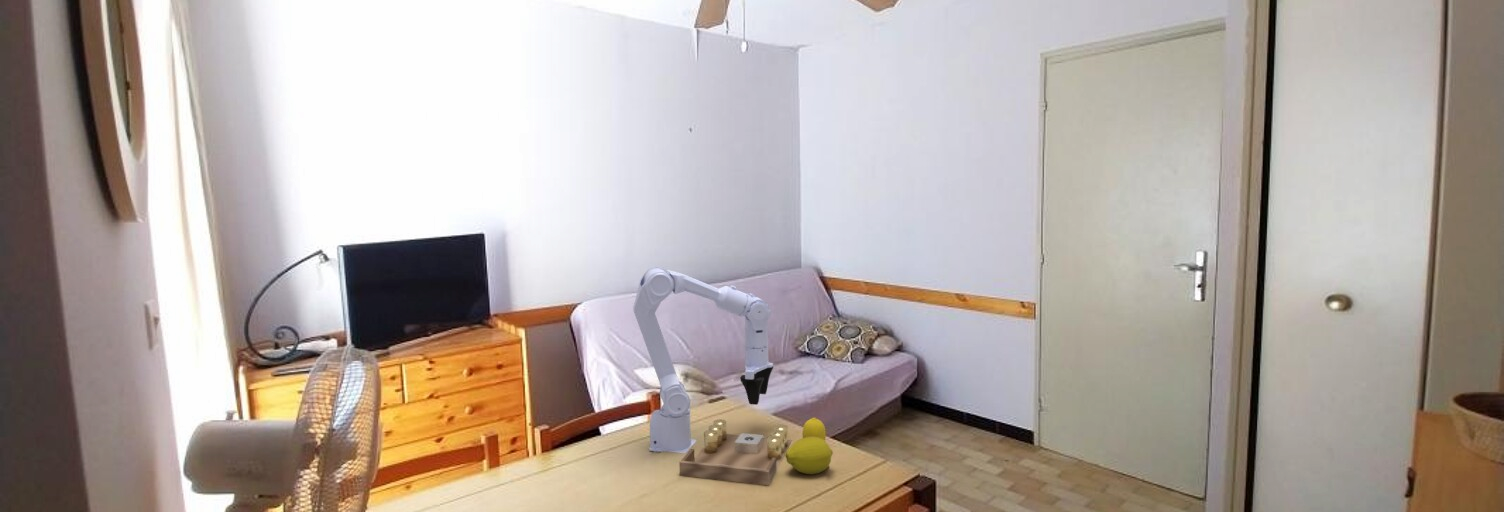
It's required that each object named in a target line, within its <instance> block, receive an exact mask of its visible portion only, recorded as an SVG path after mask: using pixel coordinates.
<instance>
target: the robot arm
mask: <svg viewBox="0 0 1504 512" xmlns="http://www.w3.org/2000/svg"><path fill="white" fill-rule="evenodd" d="M672 292H673V294H675V295H676V294H677V295H678V294H681V293H683V292H687V293H691V294H692V295H693V294H694V295H696V296H699V297H702V298H705V299H708V300H710V301H714V303H715V306H716V308H718V309H720V310H722V311H726V312H727V313H730V314H734V315H735V316H739V317H744V322H745V324H744V337H745V338H744V339H745V341H744V342H745V343H744V345H745V346H744V347H745V351H744V352H745V353H744V354H745V363H744V367H745V371H744V374H741V376H740V379H739V380H740V382H741V384H742V385H743V388H744V390H745V392H746V395H747V396H746V397H747V400H748V404H749V405H756V406H757V405H758V404H759V402H760V395H767V391H768V385H769V380H770V377H771V373H772V372H773V369H774V363H773V362H770V360H769V327H768V320H769V319H770V317H771V315H772V311H771V309H770V306H769V304H768V303H767V302H766V301H765V300H763V299H762V298H760V297H758V296H756V295H754V294H753V293H750V292H749V293H745V292H743V291H740V290H739V289H737V287H736V286H735V285H729V286H727V285H724V286H722V287H719V288H717V287H715V286H713V285H710V284H708V283H706V282H703V281H701V280H698V279H696V278H693V277H691V276H690V275H687V274H684V273H681V272H678V271H674V270H671V269H667V271H666V269H664V268H662V267H660V266H653V267H651V268H649V269H647V270H646V271H645V273H644V274H643V275H642V277H641V278H640V279H639V283H638V288H637V292H636V296H635V300H634V303H633V304H634V305H633V308H632V309H633V312H634V315H635V319H636V321H637V324H638V327H639V329H640V332H641V335H642V339H643V341H644V343H645V347H646V349H647V351H648V354H649V358H650V361H651V363H652V365H653V369H654V371H655V374H656V377H657V379H658V382H659V386H660V388H659V397H660V399H661V401H662V403H663V404H662V406H661V407H660V408H659V409H655V410H654V411H653V412H652V413H651V416H650V419H649V440H650V442H649V444H650V445H649V446H650V447H649V452H657V453H662V452H671V453H677V454H678V453H680V454H685V453H686V454H687V453H688V452H689V451H690V450H691V449H692V446H694V444H695V443H696V442H697V441H698V440H697V439H694V438H693V439H692V434H691V432H692V431H691V429H692V428H691V426H692V425H691V408H690V407H691V398H690V395H688V393H687V390H686V388H685V385H684V384H683V383H682V382H681V381H680V380H679V378H678V374H677V371H676V368H675V366H674V363H673V361H672V358H671V354H670V353H669V350H668V349H669V348H668V347H667V344H666V342H665V339H664V336H663V333H662V329H661V327H660V324H659V322H658V319H657V316H656V312H657V310H658V308H659V306H660V305H661V303H662V302H664V301H665V300H666V298H668V297H669V296H670V295H671V294H672Z"/></svg>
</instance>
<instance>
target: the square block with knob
mask: <svg viewBox="0 0 1504 512" xmlns="http://www.w3.org/2000/svg"><path fill="white" fill-rule="evenodd" d="M739 435H740V436H739V437H738V438H737V440H736V441H735V452H739V453H749V454H758V453H759V451H760V450H761V448H762V447H763V445H764V438H765V437H764V435H763V434H755V433H745V432H744V433H743V432H741V433H740V434H739Z"/></svg>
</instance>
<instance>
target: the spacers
mask: <svg viewBox="0 0 1504 512" xmlns="http://www.w3.org/2000/svg"><path fill="white" fill-rule="evenodd" d="M712 423H713V424H712V425H709V426H708V430H706V431H703V447H704V452H705V453H707V454H713V453H716V452H717V451H718V447H721V446H722V442H723V441H726V440H727V434H728V433H727V420H725V419H719V418H718V419H715V420H713V422H712ZM788 428H789V427H788V426H787V425H785V424H777V425H775V426H774V427H773V430H772V431H771V432H770V436H768V437H766V438H767V456H768V459H769V460H772V458H773V457H774V458H776V460H779V459H781V454H782V453H784V452H785V447H787V446H788V440H789V436H788V430H789V429H788Z"/></svg>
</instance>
